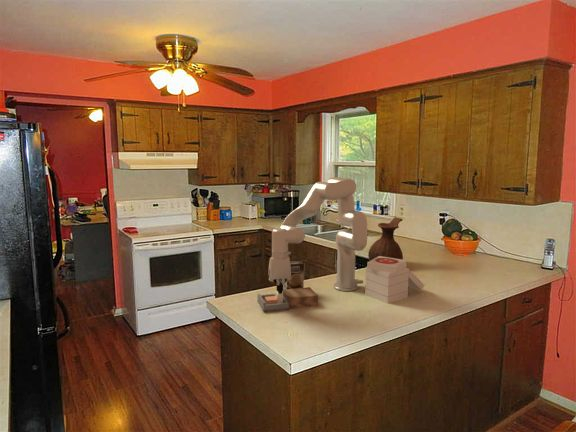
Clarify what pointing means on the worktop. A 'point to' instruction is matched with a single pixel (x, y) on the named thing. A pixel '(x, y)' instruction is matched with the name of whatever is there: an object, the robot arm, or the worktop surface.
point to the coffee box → (295, 276)
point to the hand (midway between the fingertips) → (279, 292)
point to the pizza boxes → (389, 279)
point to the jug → (387, 242)
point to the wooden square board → (300, 297)
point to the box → (272, 306)
